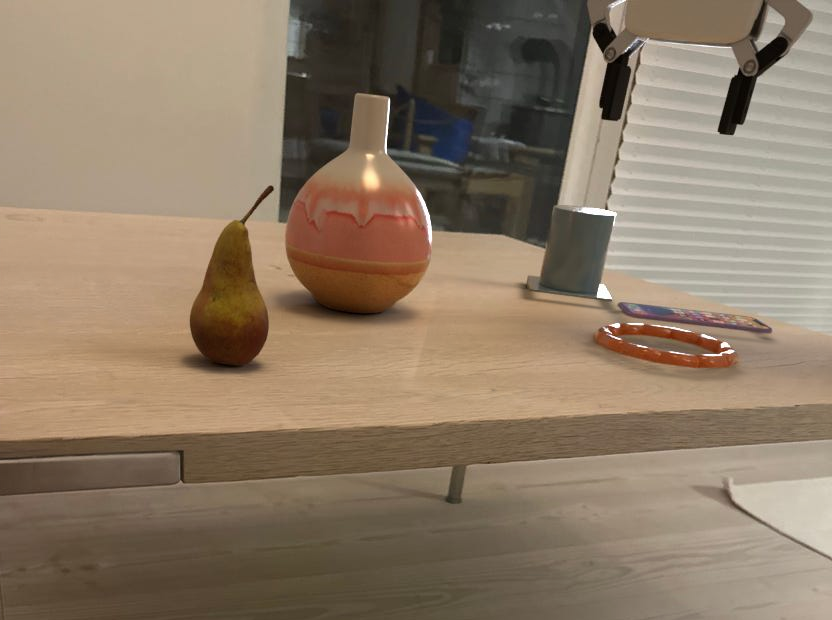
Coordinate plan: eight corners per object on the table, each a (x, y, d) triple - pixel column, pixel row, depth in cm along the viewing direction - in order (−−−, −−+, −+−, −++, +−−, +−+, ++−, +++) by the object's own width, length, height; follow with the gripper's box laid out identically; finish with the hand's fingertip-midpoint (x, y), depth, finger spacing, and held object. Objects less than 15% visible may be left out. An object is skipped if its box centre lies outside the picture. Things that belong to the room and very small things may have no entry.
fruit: (219, 347, 71) (223, 174, 65) (281, 364, 69) (291, 186, 62) (171, 360, 67) (171, 176, 61) (235, 378, 64) (242, 189, 58)
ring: (717, 349, 88) (722, 332, 88) (747, 384, 78) (753, 365, 77) (587, 332, 89) (591, 315, 88) (600, 364, 79) (604, 345, 78)
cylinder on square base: (602, 293, 109) (621, 210, 104) (610, 308, 101) (631, 219, 96) (526, 283, 109) (541, 200, 105) (528, 298, 102) (545, 209, 97)
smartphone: (613, 309, 101) (750, 325, 100) (627, 323, 94) (773, 339, 94) (615, 301, 100) (753, 316, 100) (629, 313, 94) (776, 330, 94)
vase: (261, 308, 84) (271, 83, 75) (306, 284, 96) (320, 87, 86) (406, 332, 82) (434, 103, 73) (435, 305, 93) (463, 104, 84)
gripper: (865, -128, 66) (783, 141, 75) (632, -130, 73) (582, 116, 82) (852, -155, 60) (765, 140, 69) (601, -154, 68) (551, 113, 76)
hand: (666, 127), depth 76 cm, fingers open, 9 cm apart
